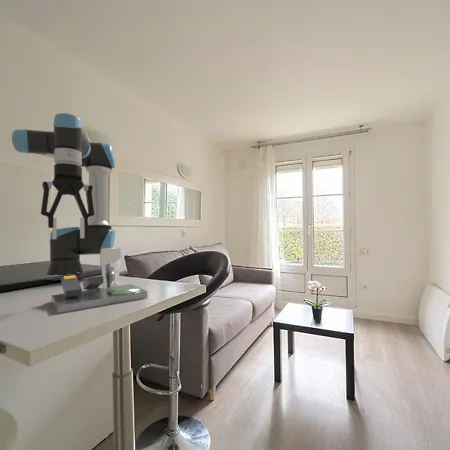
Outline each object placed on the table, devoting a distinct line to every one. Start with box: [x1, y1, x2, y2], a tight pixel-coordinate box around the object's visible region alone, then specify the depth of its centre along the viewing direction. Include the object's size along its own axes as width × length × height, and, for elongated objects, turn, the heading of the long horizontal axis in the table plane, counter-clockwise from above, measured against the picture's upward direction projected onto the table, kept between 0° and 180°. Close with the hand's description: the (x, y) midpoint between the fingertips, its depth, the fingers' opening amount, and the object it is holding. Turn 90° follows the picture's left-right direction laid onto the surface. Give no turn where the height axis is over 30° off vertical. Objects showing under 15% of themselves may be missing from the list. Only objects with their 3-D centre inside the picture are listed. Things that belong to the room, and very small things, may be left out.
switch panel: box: [50, 284, 148, 314], centre depth 82 cm, size 15×24×3 cm, turn 128°
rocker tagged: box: [60, 275, 83, 297], centre depth 80 cm, size 9×4×2 cm, turn 38°
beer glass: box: [99, 247, 122, 288], centre depth 96 cm, size 7×7×15 cm
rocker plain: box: [82, 275, 104, 291], centre depth 83 cm, size 9×4×2 cm, turn 38°
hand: (68, 238), depth 83 cm, fingers open, 7 cm apart
